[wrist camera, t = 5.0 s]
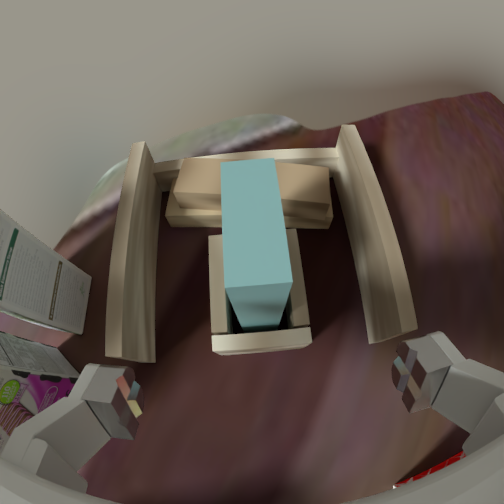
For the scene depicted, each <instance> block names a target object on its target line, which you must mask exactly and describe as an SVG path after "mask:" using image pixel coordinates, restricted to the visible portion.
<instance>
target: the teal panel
mask: <svg viewBox="0 0 504 504" xmlns="http://www.w3.org/2000/svg"><path fill="white" fill-rule="evenodd" d="M220 166H221V208H222V238H223V263H224V285H225V290H226V292H227V295H228V297H229V299H230V302H231V304H232V306H233V309H234V311H235V313H236V315H237V318H238V320H239V322H240V325H241V327H242V329H243V331H244V333H253V332H264V331H275V330H277V329H278V326H279V323H280V320H281V317H282V314H283V311H284V308H285V305H286V302H287V299H288V295H289V292H290V289H291V286H292V283H293V280H292V272H291V265H290V257H289V250H288V243H287V236H286V229H285V223H284V216H283V210H282V203H281V197H280V190H279V184H278V178H277V172H276V166H275V160H274V158H266V159H252V160H240V161H229V162H220Z"/></svg>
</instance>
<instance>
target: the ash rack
mask: <svg viewBox="0 0 504 504" xmlns="http://www.w3.org/2000/svg"><path fill="white" fill-rule="evenodd" d="M193 158H214V159H238V160H252V159H266V158H274V160H275V162H281V163H292V164H302V165H311V166H320V167H328V168H329V177H333V179H334V183H335V186H336V190H337V193H338V197H339V201H340V204H341V208H342V212H343V216H344V220H345V224H346V228H347V232H348V236H349V240H350V245H351V249H352V253H353V258H354V263H355V267H356V272H357V277H358V282H359V287H360V292H361V298H362V303H363V309H364V315H365V321H366V328H367V334H368V341H369V344H373V343H378V342H382V341H385V340H388V339H391V338H394V337H397V336H400V335H403V334H406V333H408V332H411V331H414V330H416V329H418V326H417V321H416V315H415V310H414V305H413V300H412V296H411V291H410V287H409V282H408V278H407V274H406V270H405V266H404V262H403V258H402V254H401V251H400V247H399V244H398V240H397V237H396V233H395V230H394V227H393V224H392V220H391V217H390V214H389V211H388V208H387V205H386V202H385V199H384V197H383V194H382V191H381V188H380V185H379V183H378V180H377V177H376V175H375V172H374V170H373V167H372V165H371V162H370V160H369V157H368V155H367V152H366V150H365V148H364V145H363V143H362V141H361V138H360V136H359V134H358V132H357V129H356V127H355V125H342V126H341V130H340V134H339V137H338V141H337V145H336V148H306V149H281V150H265V151H251V152H239V153H228V154H219V155H210V156H201V157H193ZM183 160H184V159H179V160H172V161H165V162H159V163H154V160H153V158H152V156H151V154H150V151H149V149H148V147H147V145H146V142H145V141H143V142H138V143H133V144H132V147H131V151H130V155H129V159H128V163H127V168H126V172H125V176H124V181H123V186H122V191H121V196H120V201H119V207H118V212H117V218H116V224H115V231H114V238H113V245H112V253H111V261H110V271H109V281H108V293H107V308H106V332H105V356H107V357H113V358H118V359H124V360H130V361H136V362H145V363H156V359H155V290H156V264H157V247H158V233H159V220H160V209H161V199H162V192H164V191H170V190H171V185H172V181H173V178H178V175H179V172H180V169H181V166H182V163H183ZM286 236H287V243H288V250H289V257H290V265H291V272H292V280H293V283H292V286H291V289H290V292H289V295H288V299H287V302H286V314H287V323H288V330H279V331H269V332H257V333H245V334H233V324H232V308H231V302H230V299H229V297H228V295H227V292H226V290H225V285H224V263H223V238H222V235H213V236H209V279H210V308H211V331H212V333H213V334H214V336H212V350H213V352H216V353H218V354H220V355H233V354H248V353H260V352H271V351H282V350H291V349H299V348H304V347H306V346H307V345H309V344H310V343H312V338H311V329H310V327H308V325H309V324H310V321H309V313H308V306H307V298H306V291H305V284H304V277H303V270H302V263H301V257H300V250H299V244H298V238H297V232H296V229H286Z"/></svg>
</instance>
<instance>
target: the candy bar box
mask: <svg viewBox="0 0 504 504" xmlns="http://www.w3.org/2000/svg"><path fill="white" fill-rule="evenodd" d="M79 376H80V373H79V372H78V371H77V370H76V369H75V368H74V367H73V366H72V365H71V364H70V363H69V362H68V361H67V359H66V358H65V357H64V356H63V355H62V353H61V352H60V351H59V350H58V349H57V348H56V347H53V346H49V345H45V344H42V343H38V342H34V341H30V340H27V339H24V338H20V337H17V336H14V335H11V334H8V333H5V332H2V331H0V456H1V454H2V452H3V450H4V448H5V446H6V444H7V442H8V440H9V438H10V436H11V434H12V433H13V431H14V429H15V428H16V427H18V426H19V425H21V424H22V423H24V422H26V421H27V420H29V419H30V418H32V417H33V416H35V415H37V414H38V413H40V412H41V411H43V410H44V409H46V408H48V407H49V406H51V405H52V404H54V403H55V402H57V401H58V400H60V399H62V398H63V397H68V396H69V394H70V392H71V390H72V389H73V387H74V385H75V383H76V381H77V380H78V378H79Z"/></svg>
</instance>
